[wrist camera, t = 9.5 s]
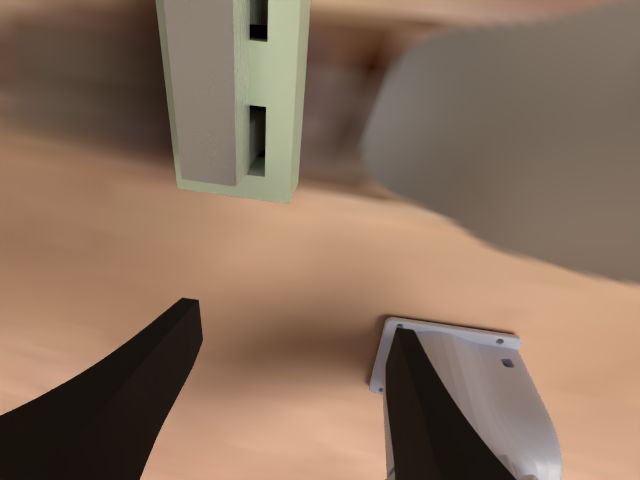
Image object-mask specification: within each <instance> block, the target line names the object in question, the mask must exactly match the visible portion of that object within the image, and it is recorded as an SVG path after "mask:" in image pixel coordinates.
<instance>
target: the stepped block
mask: <svg viewBox="0 0 640 480" xmlns="http://www.w3.org/2000/svg"><path fill="white" fill-rule="evenodd" d="M164 10H165V20H166V30H167V40H168V50H169V60H170V70H171V79H172V89H173V99H174V109H175V119H176V129H177V139H178V148H179V158H180V168H181V178H182V179H183V180H191V181H198V182H205V183H212V184H219V185H226V186H234V187H237V186H238V184H239V183H240V182H241V181H242V180H243V178H244V177H245V176H246V175H247V174H248V172H249V166H250V165H251V164H252V162H253V161H254V160H255V159H256V158H257V157H258V155H259V154H260V153H261V152H262V151H263V150H264V148H265V145H266V111H262V110H255V109H250V24H257V25H268V0H164Z"/></svg>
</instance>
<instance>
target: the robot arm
mask: <svg viewBox="0 0 640 480" xmlns="http://www.w3.org/2000/svg"><path fill="white" fill-rule="evenodd" d="M398 324H402V325H400V326H398ZM498 339H500V340H498ZM202 341H203V335H202V326H201V317H200V308H199V300H195V299H188V298H181V299H180V300H179V301H177V302H176V303H175V304H174V305H173V306H171V307H170V308H169V309H168V310H166V311H165V312H164V313H163V314H162V315H160V316H159V317H158V318H157V319H156V320H154V321H153V322H152V323H151V324H149V325H148V326H147V327H146V328H144V329H143V330H142V331H140V332H139V333H138V334H137V335H135V336H134V337H133V338H132V339H130V340H129V341H128V342H126V343H125V344H123V345H122V346H121V347H119V348H118V349H116V350H115V351H114V352H112V353H111V354H110V355H108V356H107V357H105V358H104V359H102V360H101V361H99V362H98V363H96V364H95V365H93V366H92V367H90V368H89V369H87V370H85V371H84V372H82V373H81V374H79V375H77V376H76V377H74V378H72V379H71V380H69V381H67V382H65V383H63V384H62V385H60V386H58V387H56V388H54V389H52V390H51V391H49V392H47V393H45V394H43V395H42V396H40V397H38V398H36V399H34V400H32V401H30V402H28V403H26V404H24V405H22V406H20V407H18V408H16V409H14V410H12V411H9V412H7V413H5V414H3V415H1V416H0V480H140V477H141V475H142V472H143V470H144V467H145V465H146V462H147V460H148V457H149V455H150V452H151V450H152V448H153V445H154V443H155V440H156V438H157V436H158V433H159V431H160V429H161V427H162V425H163V423H164V421H165V419H166V417H167V415H168V413H169V412H170V410H171V408H172V406H173V404H174V402H175V400H176V398H177V396H178V394H179V392H180V391H181V389H182V387H183V385H184V383H185V381H186V379H187V377H188V375H189V373H190V371H191V369H192V367H193V365H194V363H195V360H196V357H197V355H198V352H199V349H200V347H201V344H202ZM521 344H522V341H521V339H520V337H519V336H517V335H513V334H506V333H499V332H492V331H485V330H478V329H472V328H465V327H458V326H451V325H444V324H438V323H431V322H424V321H417V320H410V319H404V318H397V317H390V318H388V319H386V321H385V325H384V328H383V332H382V336H381V340H380V344H379V348H378V352H377V356H376V360H375V364H374V367H373V371H372V375H371V379H370V383H369V390H370V391H371V392H373V393H379V394H383V409H384V428H385V448H386V468H387V479H385V480H561V478H562V456H561V449H560V444H559V440H558V436H557V433H556V430H555V427H554V424H553V422H552V420H551V418H550V416H549V413H548V411H547V409H546V407H545V405H544V403H543V401H542V399H541V397H540V395H539V393H538V391H537V389H536V387H535V385H534V382H533V380H532V378H531V376H530V374H529V372H528V370H527V368H526V366H525V364H524V362H523V360H522V358H521V356H520V354H519V351H518V350H519V348H520V346H521Z"/></svg>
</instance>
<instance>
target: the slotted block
mask: <svg viewBox="0 0 640 480" xmlns="http://www.w3.org/2000/svg"><path fill="white" fill-rule="evenodd" d="M310 4H311V0H268V39H261V38H252V37H250V105H255V106H263V107H266V148H265V157H257V158H256V159H255V160H254V161H253V162H252V164H251V165H250V166H249V172H248V174H247V175H246V176H245V177H244V178H243V180H242V181H241V182H240V183H239V184H238V186H237V187H234V186H226V185H219V184H212V183H205V182H198V181H191V180H183V179H182V178H181V168H180V158H179V148H178V139H177V129H176V119H175V109H174V99H173V89H172V79H171V70H170V60H169V50H168V40H167V30H166V20H165V10H164V0H156V8H157V17H158V25H159V34H160V43H161V51H162V60H163V68H164V77H165V86H166V94H167V103H168V112H169V120H170V129H171V138H172V146H173V155H174V163H175V172H176V181H177V189H182V190H190V191H197V192H205V193H212V194H219V195H227V196H234V197H242V198H249V199H257V200H264V201H271V202H279V203H286V204H289V203H290V200H291V198H292V196H293V194H294V191H295V189H296V187H297V184H298V178H299V163H300V149H301V134H302V120H303V105H304V91H305V76H306V62H307V48H308V33H309V19H310Z"/></svg>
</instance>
